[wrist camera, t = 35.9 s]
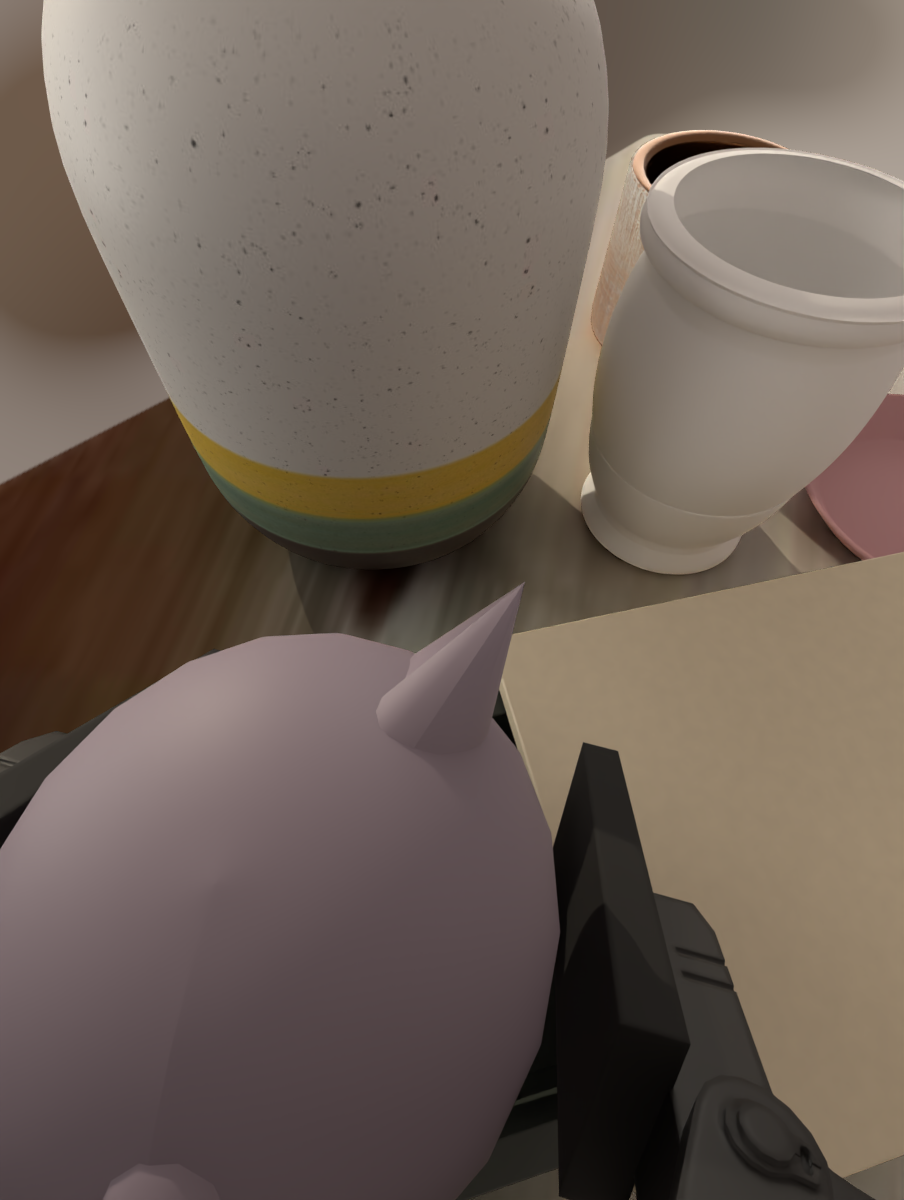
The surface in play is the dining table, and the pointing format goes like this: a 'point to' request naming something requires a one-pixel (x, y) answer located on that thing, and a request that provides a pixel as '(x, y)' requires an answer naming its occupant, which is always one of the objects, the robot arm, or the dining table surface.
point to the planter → (635, 191)
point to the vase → (343, 242)
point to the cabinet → (760, 809)
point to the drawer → (525, 1099)
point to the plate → (867, 486)
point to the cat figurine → (279, 931)
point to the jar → (742, 349)
